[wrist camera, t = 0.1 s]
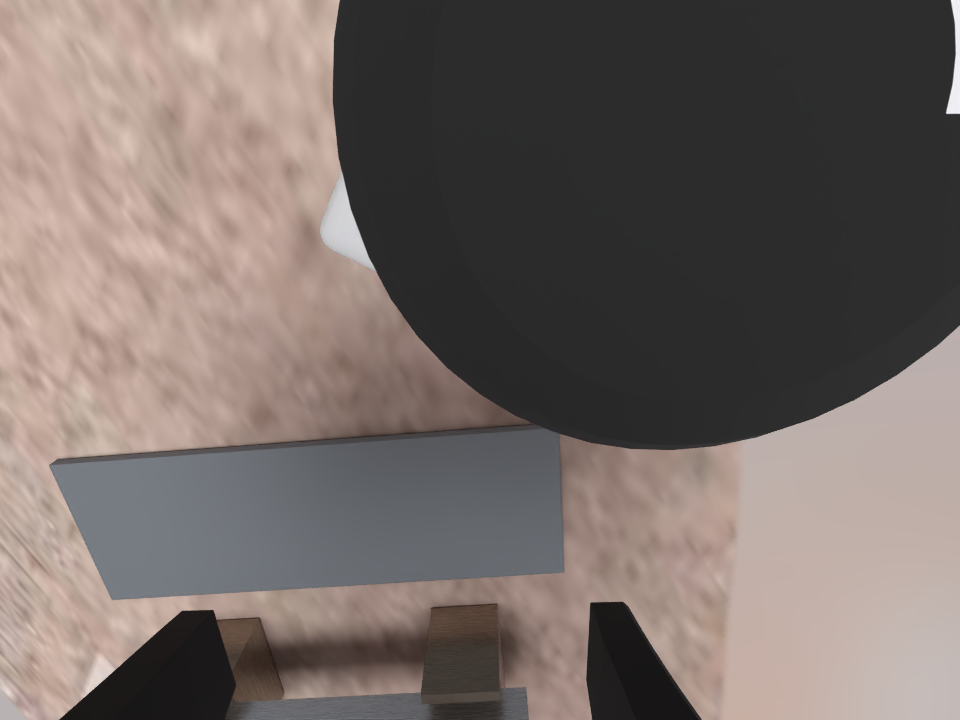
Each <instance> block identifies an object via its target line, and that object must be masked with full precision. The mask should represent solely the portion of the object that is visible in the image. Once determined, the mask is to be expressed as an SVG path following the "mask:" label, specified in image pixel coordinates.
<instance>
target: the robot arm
mask: <svg viewBox="0 0 960 720" xmlns="http://www.w3.org/2000/svg"><path fill="white" fill-rule="evenodd" d="M586 680H587V687H588V694H589V700H590V707H591V714H592V720H702V719H701V718H700V717H699V715H698V714H697V712H696V711H695V709H694V708H693V707H692V705H691V704H690V702H689V701H688V700H687V698H686V697H685V695H684V694H683V693H682V691H681V690H680V688H679V687H678V685H677V684H676V682H675V681H674V679H673V678H672V676H671V675H670V673H669V672H668V670H667V669H666V667H665V666H664V664H663V663H662V661H661V660H660V658H659V656H658V655H657V653H656V652H655V650H654V649H653V647H652V645H651V644H650V642H649V641H648V639H647V637H646V636H645V634H644V633H643V631H642V629H641V628H640V626H639V624H638V622H637V621H636V619H635V617H634V616H633V614H632V612H631V610H630V609H629V607H628V606H627V605H626V604H625V603H624V602H595V603H590V620H589V639H588V658H587V677H586ZM235 688H236V682H235V679H234V676H233V673H232V669H231V666H230V663H229V659H228V656H227V653H226V650H225V646H224V643H223V640H222V637H221V633H220V630H219V627H218V624H217V620H216V617H215V614H214V610H198V611H182V612H180V613H179V614H178V615H177V616H176V617H175V618H173V619H172V620H171V621H170V622H169V623H168V624H166V625H165V626H164V627H163V628H162V629H161V630H160V631H158V632H157V633H156V634H155V635H154V636H153V637H152V638H151V639H149V640H148V641H147V642H146V643H145V644H144V645H143V646H142V647H141V648H139V649H138V650H137V651H136V652H135V653H134V654H133V655H132V656H131V657H129V658H128V659H127V660H126V661H125V662H124V663H123V664H122V665H121V666H119V667H118V668H117V669H116V670H115V671H114V672H113V673H112V674H110V675H109V676H108V677H107V678H106V679H105V680H104V681H103V682H101V683H100V684H99V685H98V686H97V687H96V688H95V689H94V690H92V691H91V692H90V693H89V694H88V695H87V696H86V697H84V698H83V699H82V700H81V701H80V702H79V703H78V704H77V705H75V706H74V707H73V708H72V709H71V710H70V711H69V712H67V713H66V714H65V715H64V716H63V717H62V718H61V719H60V720H225V717H226V714H227V711H228V708H229V705H230V702H231V699H232V697H233V694H234V691H235Z"/></svg>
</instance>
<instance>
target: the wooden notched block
mask: <svg viewBox="0 0 960 720" xmlns="http://www.w3.org/2000/svg"><path fill="white" fill-rule="evenodd" d="M502 688H506V686H505V674H504V664H503V654H502V644H501V634H500V625H499V615H498V605H497V604H494V605H477V606H460V607H443V608H431V616H430V624H429V632H428V640H427V648H426V656H425V664H424V672H423V680H422V688H421V700H422V704H442V703H462V702H482V701H501V693H500V689H502Z"/></svg>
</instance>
